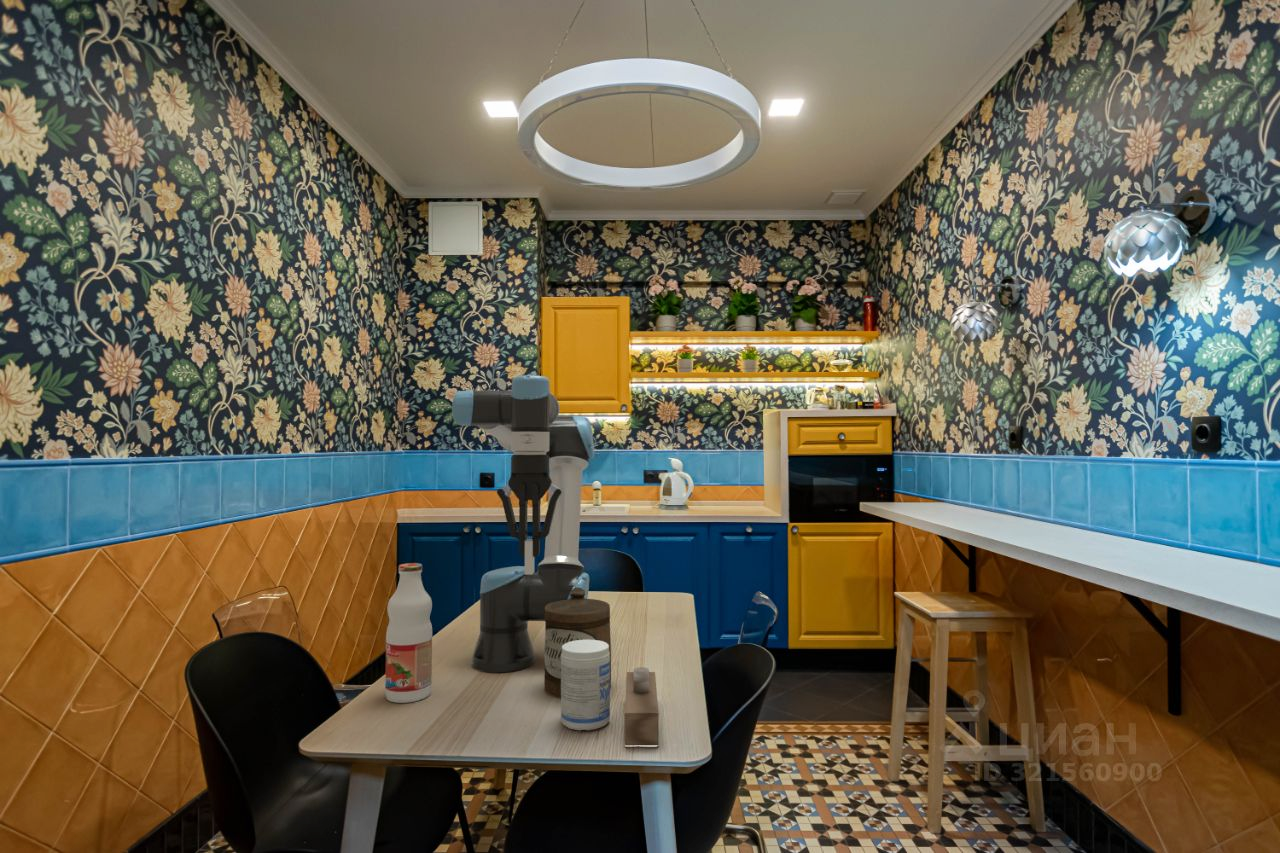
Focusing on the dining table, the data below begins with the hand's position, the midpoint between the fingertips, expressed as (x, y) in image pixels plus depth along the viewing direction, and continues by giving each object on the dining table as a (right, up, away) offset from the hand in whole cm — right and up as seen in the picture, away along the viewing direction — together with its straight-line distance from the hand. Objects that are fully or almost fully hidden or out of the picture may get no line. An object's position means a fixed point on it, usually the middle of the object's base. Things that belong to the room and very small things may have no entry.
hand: (529, 573), depth 129 cm
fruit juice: (-28, -29, +12) cm, 42 cm away
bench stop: (+22, -29, -2) cm, 36 cm away
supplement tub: (+11, -29, -2) cm, 31 cm away
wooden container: (+8, -30, +17) cm, 35 cm away
